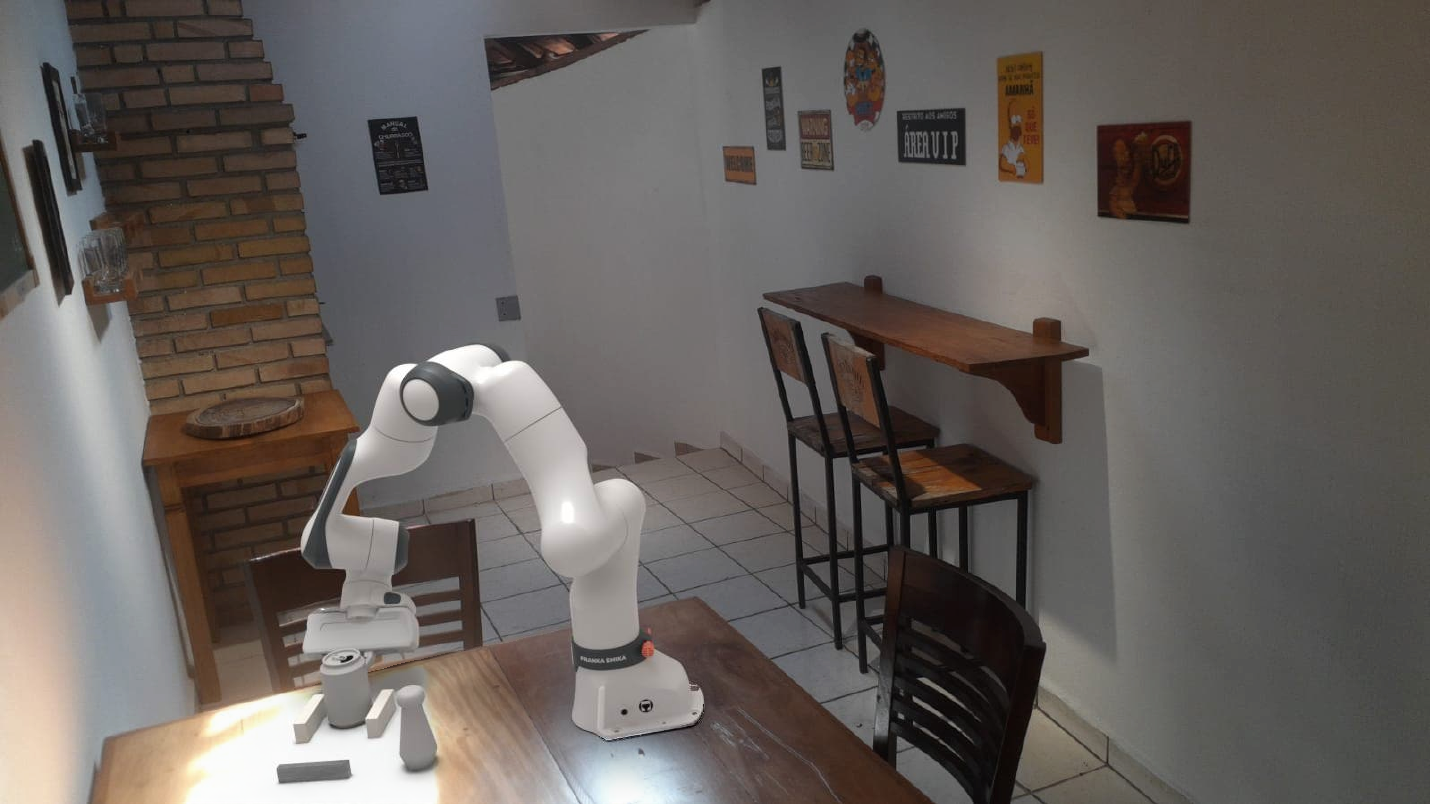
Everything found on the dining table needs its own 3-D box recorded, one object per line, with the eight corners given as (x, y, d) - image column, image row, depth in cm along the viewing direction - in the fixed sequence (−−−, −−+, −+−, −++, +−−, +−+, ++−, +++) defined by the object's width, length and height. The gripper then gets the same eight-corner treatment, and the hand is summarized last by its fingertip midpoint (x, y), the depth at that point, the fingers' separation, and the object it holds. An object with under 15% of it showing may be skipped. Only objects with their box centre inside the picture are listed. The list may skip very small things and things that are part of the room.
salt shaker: (446, 759, 172) (436, 684, 169) (419, 777, 168) (408, 701, 165) (421, 750, 176) (410, 677, 173) (393, 768, 171) (382, 693, 168)
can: (359, 731, 183) (349, 666, 180) (319, 729, 184) (309, 664, 182) (381, 708, 190) (372, 646, 187) (342, 706, 192) (333, 644, 189)
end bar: (351, 773, 170) (349, 759, 170) (349, 778, 169) (346, 763, 168) (281, 778, 170) (279, 764, 169) (278, 782, 169) (276, 768, 168)
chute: (396, 707, 190) (393, 689, 189) (379, 737, 180) (377, 718, 180) (316, 712, 190) (313, 694, 189) (296, 743, 180) (293, 724, 180)
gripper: (303, 602, 196) (292, 677, 189) (415, 594, 196) (408, 669, 189) (315, 614, 201) (305, 688, 194) (424, 607, 201) (418, 680, 194)
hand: (357, 678), depth 191 cm, fingers closed
